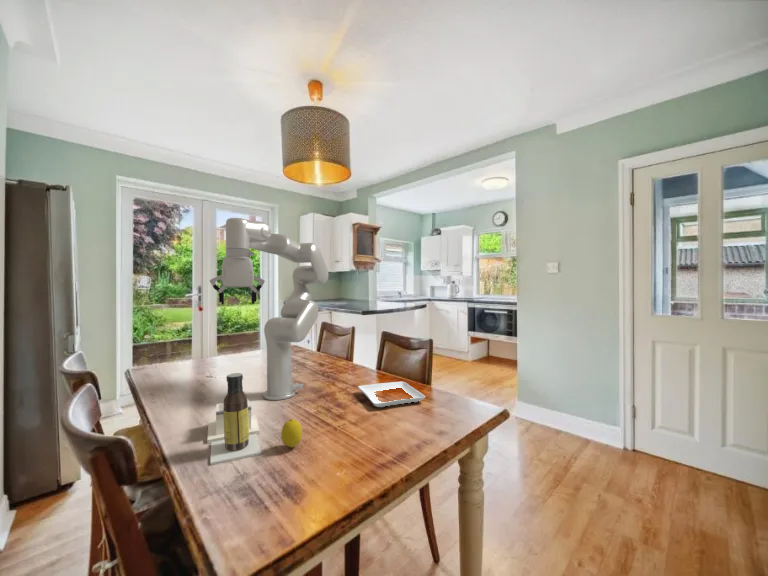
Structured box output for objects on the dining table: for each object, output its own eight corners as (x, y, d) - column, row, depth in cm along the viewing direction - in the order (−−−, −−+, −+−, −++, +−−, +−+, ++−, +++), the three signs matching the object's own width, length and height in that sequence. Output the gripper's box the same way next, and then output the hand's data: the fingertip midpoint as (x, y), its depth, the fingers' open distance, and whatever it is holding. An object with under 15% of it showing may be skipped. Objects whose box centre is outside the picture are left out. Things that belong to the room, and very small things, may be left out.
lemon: (294, 440, 95) (294, 413, 95) (306, 447, 92) (306, 418, 92) (277, 448, 91) (277, 419, 91) (289, 454, 88) (289, 425, 88)
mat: (256, 435, 99) (256, 433, 99) (261, 454, 88) (261, 452, 88) (211, 444, 93) (211, 442, 93) (210, 465, 83) (210, 462, 83)
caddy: (255, 416, 113) (255, 394, 112) (259, 433, 100) (259, 408, 100) (208, 424, 106) (208, 401, 106) (207, 443, 94) (207, 416, 94)
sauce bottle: (247, 439, 95) (247, 370, 95) (250, 448, 90) (250, 375, 90) (222, 444, 92) (222, 373, 92) (224, 454, 87) (224, 378, 86)
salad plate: (426, 404, 125) (427, 395, 125) (374, 412, 118) (374, 403, 118) (403, 388, 145) (403, 380, 145) (356, 394, 137) (356, 385, 137)
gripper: (263, 256, 121) (263, 303, 121) (209, 254, 113) (210, 304, 114) (265, 254, 115) (265, 304, 115) (209, 252, 107) (209, 305, 107)
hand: (238, 304), depth 114 cm, fingers open, 9 cm apart
